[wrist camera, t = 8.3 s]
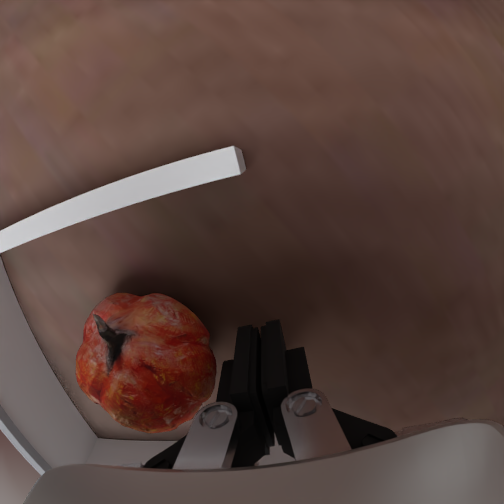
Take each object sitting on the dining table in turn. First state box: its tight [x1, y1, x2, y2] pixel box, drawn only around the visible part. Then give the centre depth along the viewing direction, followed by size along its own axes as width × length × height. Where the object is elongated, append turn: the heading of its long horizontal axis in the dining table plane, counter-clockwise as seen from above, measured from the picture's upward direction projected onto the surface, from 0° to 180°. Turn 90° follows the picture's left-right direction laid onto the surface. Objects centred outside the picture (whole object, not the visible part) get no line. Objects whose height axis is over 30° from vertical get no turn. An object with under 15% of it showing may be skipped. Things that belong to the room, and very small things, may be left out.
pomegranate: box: [76, 293, 216, 433], centre depth 11 cm, size 6×6×8 cm
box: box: [0, 146, 295, 476], centre depth 12 cm, size 15×16×6 cm
